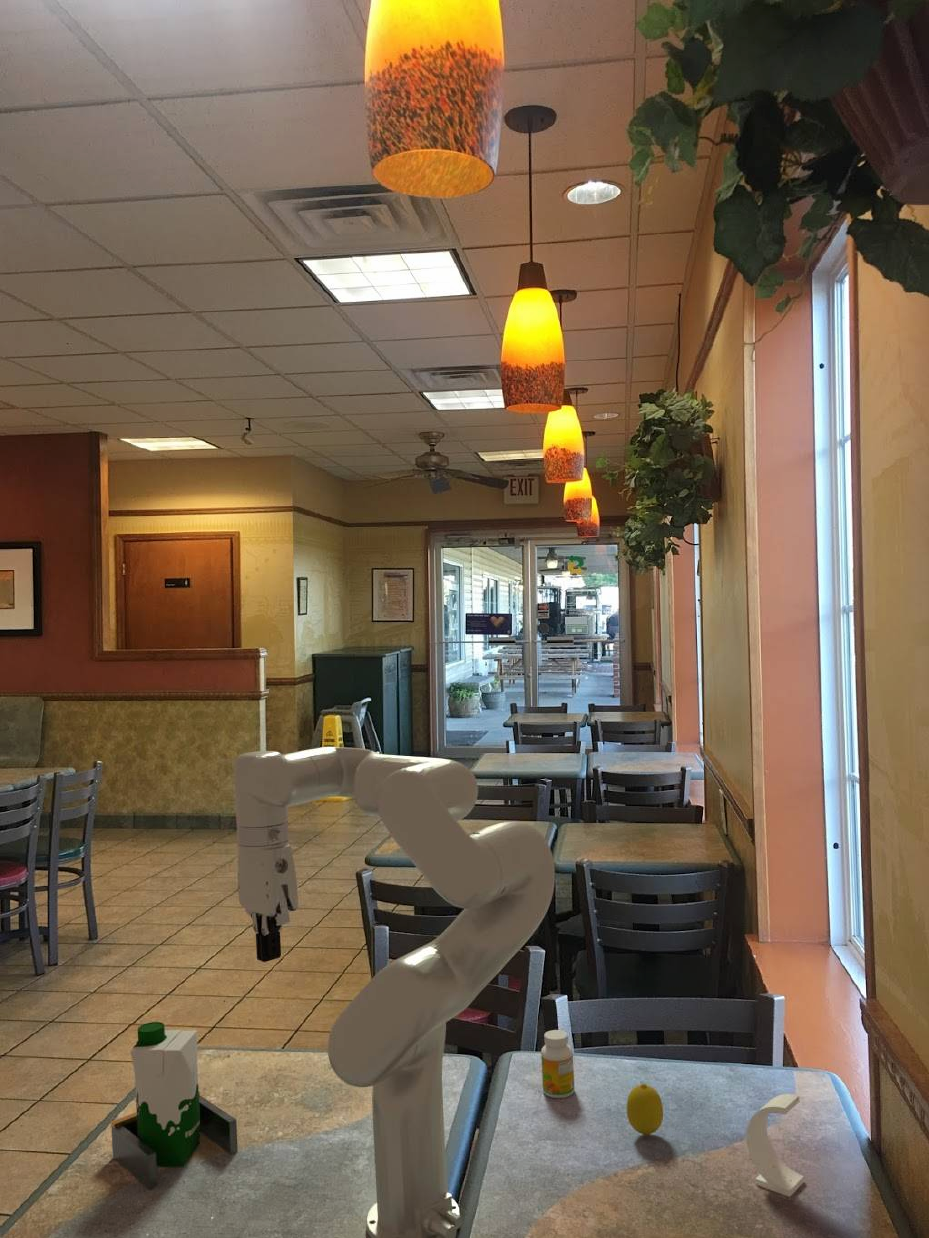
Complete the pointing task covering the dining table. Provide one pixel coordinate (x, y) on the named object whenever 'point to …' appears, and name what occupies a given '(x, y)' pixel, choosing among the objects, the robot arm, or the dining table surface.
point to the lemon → (644, 1109)
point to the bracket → (143, 1158)
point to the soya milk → (167, 1092)
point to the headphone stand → (771, 1149)
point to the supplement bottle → (557, 1065)
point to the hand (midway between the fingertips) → (269, 958)
